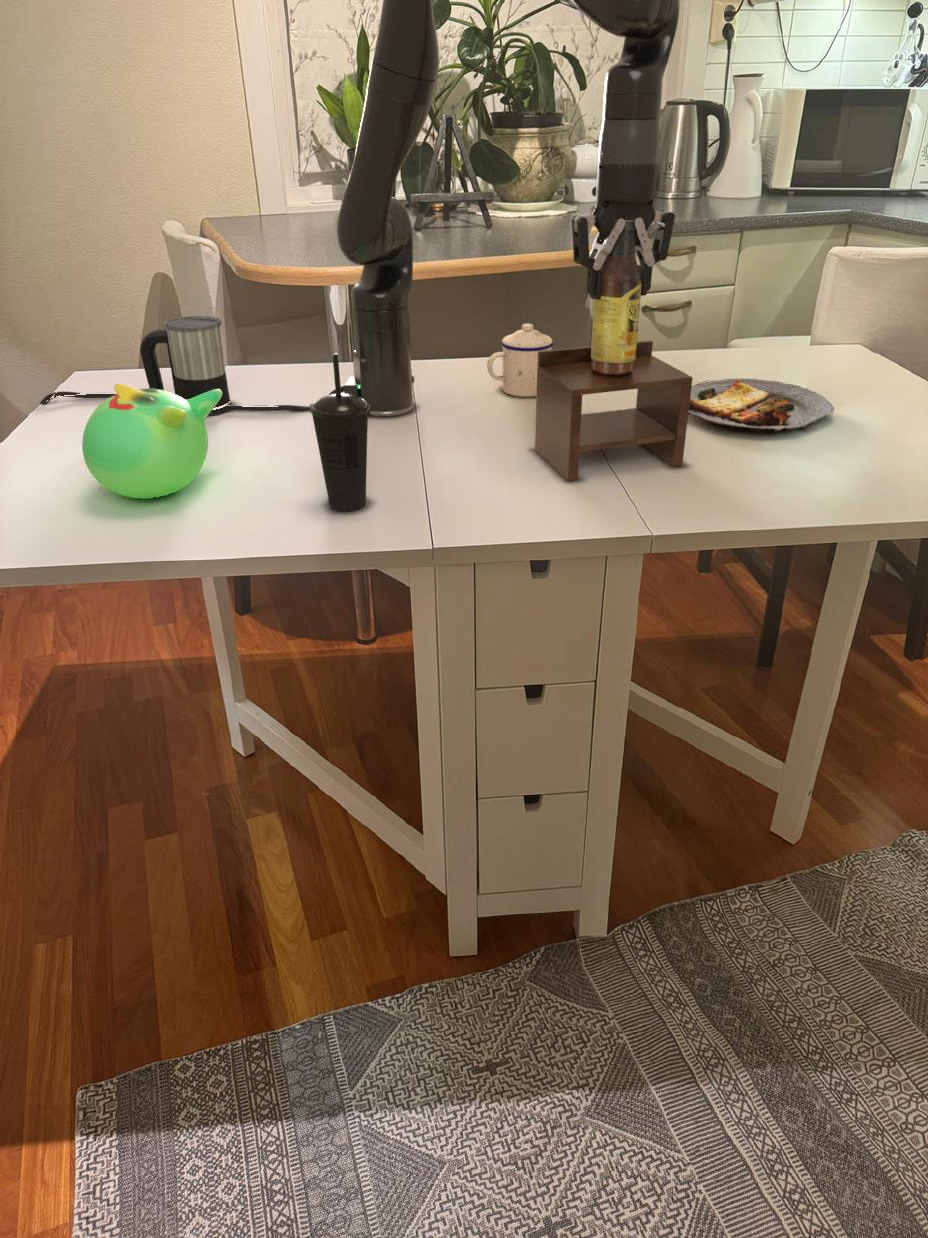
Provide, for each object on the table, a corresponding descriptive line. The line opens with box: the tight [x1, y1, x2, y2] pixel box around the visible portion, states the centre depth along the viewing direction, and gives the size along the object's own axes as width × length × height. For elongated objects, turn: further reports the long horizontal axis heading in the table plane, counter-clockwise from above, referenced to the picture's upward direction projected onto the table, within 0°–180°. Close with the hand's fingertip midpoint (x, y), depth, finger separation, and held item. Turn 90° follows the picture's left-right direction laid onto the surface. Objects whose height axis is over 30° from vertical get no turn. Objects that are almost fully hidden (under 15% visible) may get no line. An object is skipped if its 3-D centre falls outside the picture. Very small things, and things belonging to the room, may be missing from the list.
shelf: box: [534, 340, 694, 482], centre depth 132 cm, size 18×13×15 cm
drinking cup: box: [308, 353, 370, 513], centre depth 117 cm, size 8×8×20 cm
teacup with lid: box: [486, 323, 554, 398], centre depth 162 cm, size 12×9×12 cm
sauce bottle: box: [591, 220, 642, 375], centre depth 124 cm, size 7×6×20 cm
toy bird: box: [81, 383, 222, 499], centre depth 123 cm, size 18×17×15 cm
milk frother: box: [139, 315, 233, 417], centre depth 151 cm, size 14×16×15 cm
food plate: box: [688, 377, 835, 432], centre depth 151 cm, size 25×23×4 cm
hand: (617, 296), depth 124 cm, fingers closed on sauce bottle, 6 cm apart
